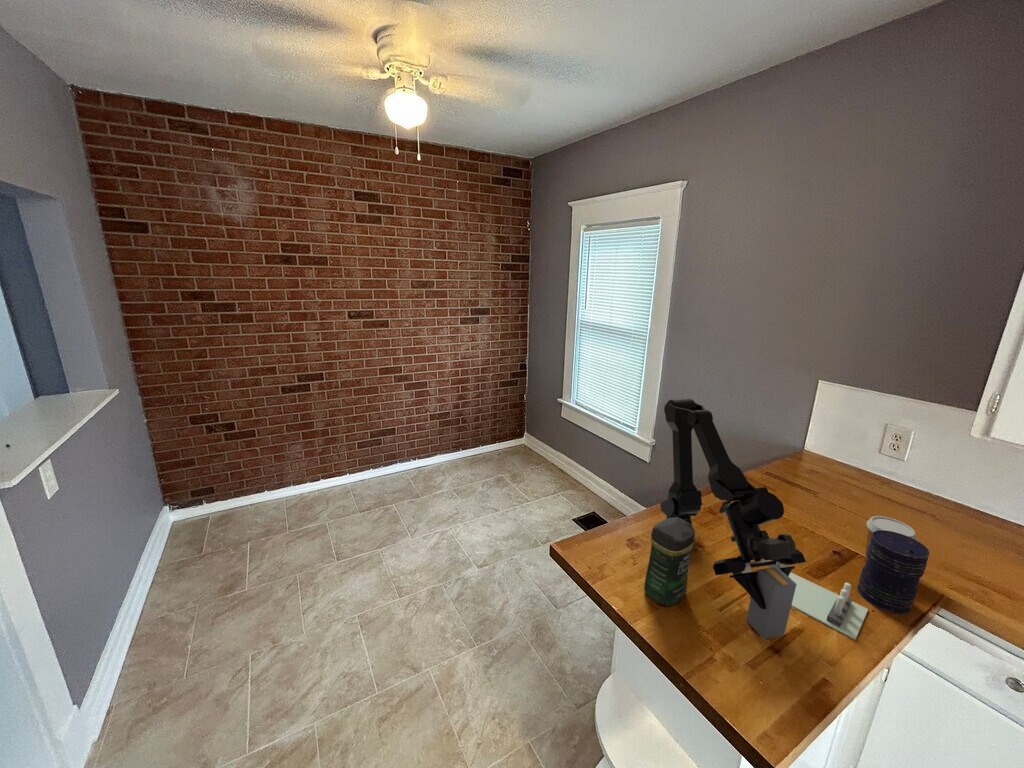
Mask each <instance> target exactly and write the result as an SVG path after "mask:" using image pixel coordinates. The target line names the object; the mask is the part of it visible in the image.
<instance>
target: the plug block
mask: <svg viewBox="0 0 1024 768" xmlns="http://www.w3.org/2000/svg"><path fill="white" fill-rule="evenodd" d="M756 571H757V583H758V585H759V588H760V591H761V594H762V596H763V599H764V602H765V606H766V609H761V608H760V607H759V606H758V604H757V603H756V602H755V601H754V600H753V598H752V597H751V596H750V600H749V604H748V608H747V615H746V617H745V618H746V622H747V623H748V624H749V625H750V626H751V627H752V628H753V629H754V630H755V632H757V633H758V635H759V636H760V637H761V638H762V639H763V640H765V639H770V638H771V639H773V638H776V637H783V636H785V633H786V629H787V625H788V621H789V616H790V614H791V613H790V612H791V608H792V607H791V605H792V601H793V597H794V593H795V589H796V585H797V584H796V583H795V582H794V581H793V580H792V579H790V578H789V577H788V576H787V575H786V574H785V573H783V572H782V571H781V570H780V569H779V568H778V567H773V568H769V567H765V568H759V569H756ZM756 571H755V572H756Z"/></svg>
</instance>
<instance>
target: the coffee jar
mask: <svg viewBox="0 0 1024 768" xmlns="http://www.w3.org/2000/svg"><path fill="white" fill-rule="evenodd" d="M651 529H652V530H651V534H650V544H651V547H650V552H649V560H648V565H647V571H646V573H645V574H646V575H645V580H644V585H643V589H644V592H645V593H646V595H647V596H648V597H649V598H650V599H652V600H653V601H654V602H655V603H658V604H660V605H662V606H667V607H670V606H672V605H674V604H676V603H678V602H680V601H681V600H682V599H683V598H684V597H685V596H686V593H687V589H688V588H687V587H688V579H689V569H690V560H691V555H692V550H693V548H694V547H693V546H694V544H695V537H696V531H695V528H694V527H693V524H692V525H691V524H690V523H688V522H686V521H685V520H683V519H681V518H679V517H673V518H668V519H663V520H661V521H659V522H657V523H656V524H654V525H653V527H652V528H651Z"/></svg>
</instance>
